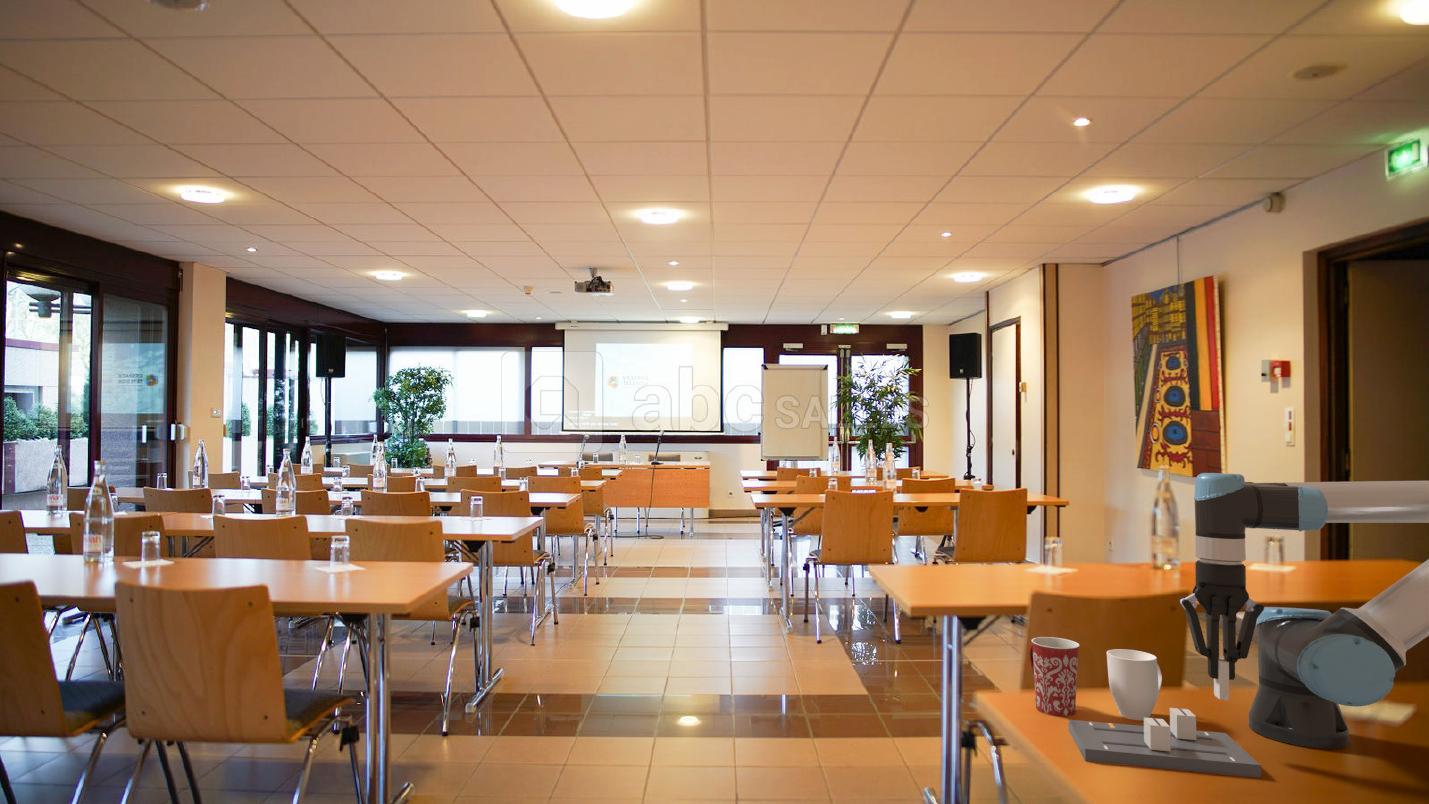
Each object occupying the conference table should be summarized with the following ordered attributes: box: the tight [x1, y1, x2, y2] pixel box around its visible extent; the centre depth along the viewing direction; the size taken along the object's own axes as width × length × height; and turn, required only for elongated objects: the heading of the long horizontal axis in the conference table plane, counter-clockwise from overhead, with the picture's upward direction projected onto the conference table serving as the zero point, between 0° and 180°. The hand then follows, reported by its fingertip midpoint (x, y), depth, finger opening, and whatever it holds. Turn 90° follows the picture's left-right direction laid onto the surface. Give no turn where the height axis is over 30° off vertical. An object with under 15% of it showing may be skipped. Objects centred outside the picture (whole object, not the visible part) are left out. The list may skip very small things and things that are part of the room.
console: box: [1068, 719, 1262, 779], centre depth 140 cm, size 26×15×2 cm, turn 76°
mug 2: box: [1106, 648, 1163, 721], centre depth 160 cm, size 12×9×12 cm
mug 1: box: [1029, 636, 1081, 717], centre depth 164 cm, size 13×9×14 cm
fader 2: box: [1169, 707, 1197, 740], centre depth 143 cm, size 3×4×4 cm
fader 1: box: [1143, 717, 1170, 751], centre depth 137 cm, size 3×4×4 cm
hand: (1221, 697), depth 141 cm, fingers closed
